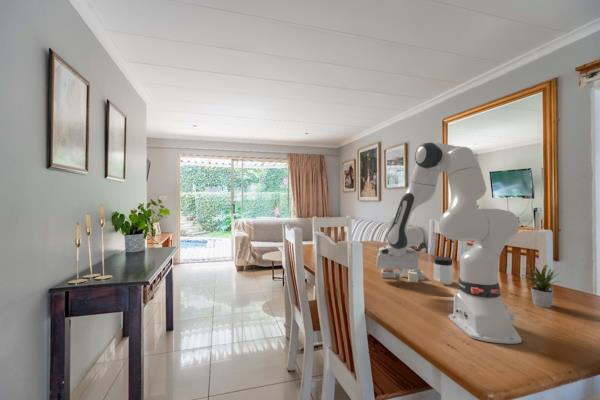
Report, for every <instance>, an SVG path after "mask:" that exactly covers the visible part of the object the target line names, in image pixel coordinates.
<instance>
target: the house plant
mask: <svg viewBox="0 0 600 400" xmlns="http://www.w3.org/2000/svg"><path fill="white" fill-rule="evenodd" d="M523 264H524V265H526V266H527V267H529V268H530V269H531V271H530V270H528V269H526V267H525V268H524V267H523V270H525V271H526V272H528V273H529V274H530V275H529V274H526V273H525V275H524V274H521V276H522V277H524V278H525V280H524V281H523V283H525V282H526V285H527V284H530V283H532V284H533V285H534V286H530V291H531V297H532V302H533V304H534V305H535V306H537V307H542V308H551V306H552V303H553V298H554V293H555V290H554V289H551V288H555V286H552V285H553V284H555V283H560V281H554V282H551V281H552V280H553V278H555V277H556V276H558V275H559V274H560V273H561V272H560V273H557V274H555V273H554V272H555V269H552V267H550V268H549V269H548V267H549V265H547V264H545V265H544V266H543V268H542V269H541V272H540V270H539V269H538V268H537V266H536V265H534V268H533V267H532V266H531V265H529V264H526V263H523ZM519 268H520V269H521V268H522V267H519ZM547 269H548V272H547ZM546 272H547V275H546ZM534 276H535V277H534ZM526 279H527V280H526ZM529 279H530V280H529ZM550 282H551V283H550Z"/></svg>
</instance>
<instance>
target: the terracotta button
mask: <svg viewBox="0 0 600 400" xmlns="http://www.w3.org/2000/svg"><path fill="white" fill-rule="evenodd" d="M383 269H384V272H392V268H383Z"/></svg>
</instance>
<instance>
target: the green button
mask: <svg viewBox="0 0 600 400" xmlns="http://www.w3.org/2000/svg"><path fill="white" fill-rule="evenodd" d="M411 270H412V272H417V274H420V271H421V268H420V267H419V268H418V269H417V270H416V269H411Z"/></svg>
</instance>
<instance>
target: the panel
mask: <svg viewBox="0 0 600 400" xmlns="http://www.w3.org/2000/svg"><path fill="white" fill-rule="evenodd" d="M394 272H395V273H396V270H395V271H394ZM408 272H412V269H407V273H408ZM425 274H426V273H424V272H423V270H420V274H418V281H425V280H426V275H425ZM380 276H381V277H380V278H382V279H396V278H397V277H394V273H393V271H392V272H384V268H380Z"/></svg>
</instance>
